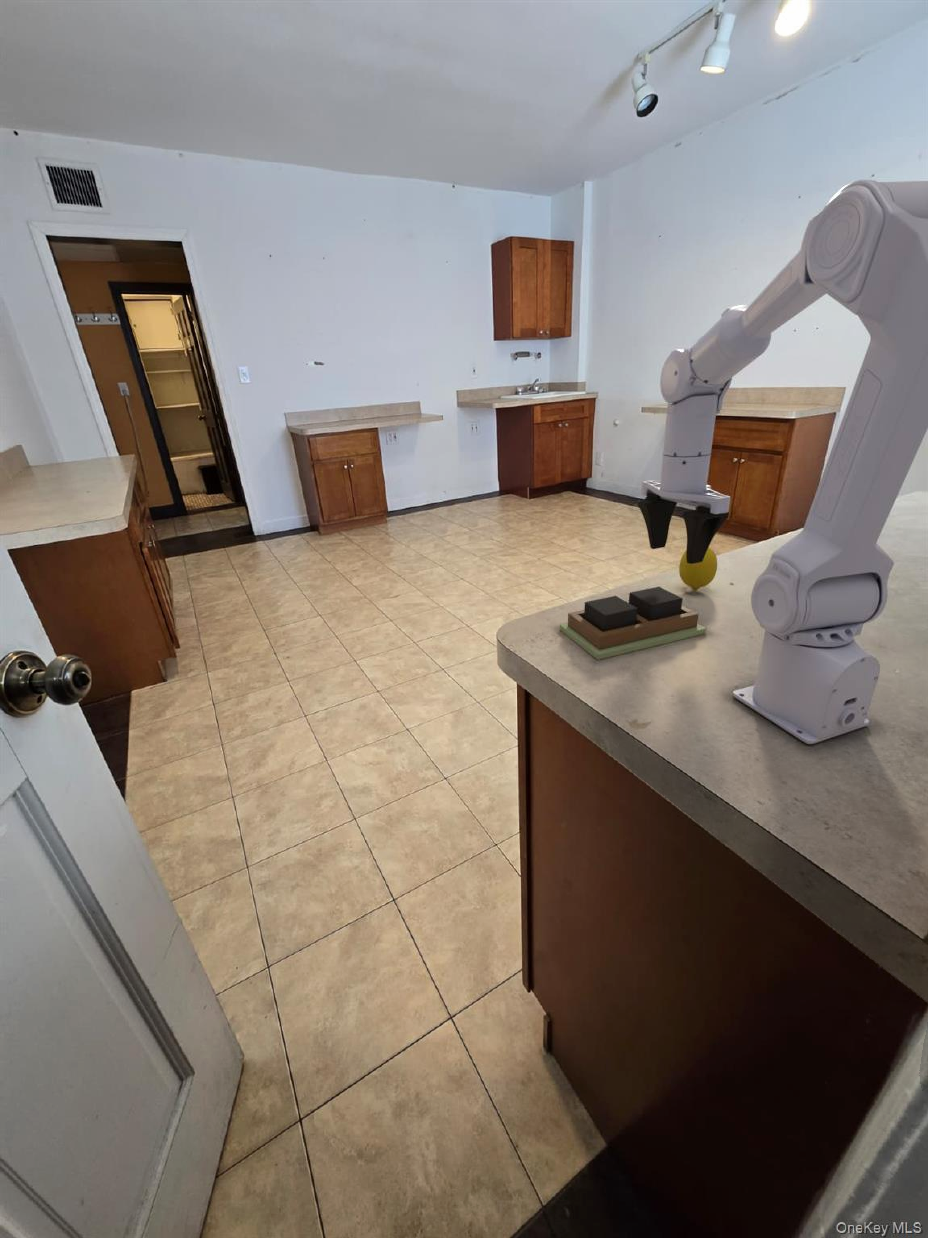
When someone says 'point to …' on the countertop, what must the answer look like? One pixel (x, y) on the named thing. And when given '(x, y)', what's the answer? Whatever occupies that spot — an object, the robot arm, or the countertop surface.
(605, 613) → the pad
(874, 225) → the robot arm
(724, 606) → the countertop surface
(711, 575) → the lemon
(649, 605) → the black block
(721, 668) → the countertop surface
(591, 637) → the dock
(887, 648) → the countertop surface
